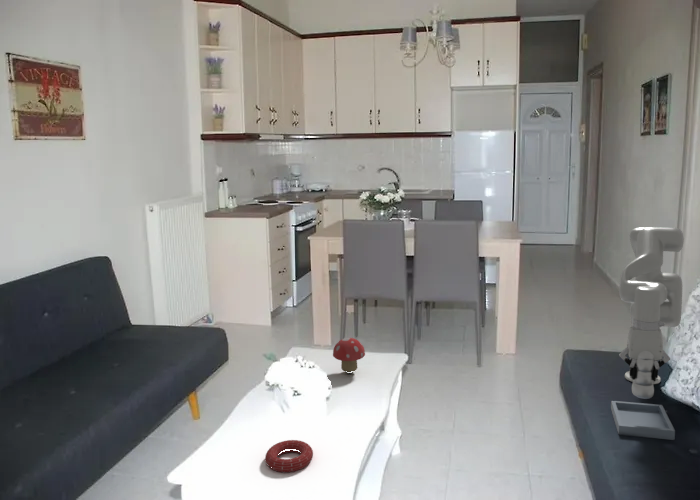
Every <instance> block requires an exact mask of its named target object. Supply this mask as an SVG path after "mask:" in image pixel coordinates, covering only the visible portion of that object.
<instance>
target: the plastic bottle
mask: <svg viewBox="0 0 700 500" xmlns="http://www.w3.org/2000/svg"><path fill="white" fill-rule="evenodd" d="M653 359H654V356H653V354H652V353H651V352H649V351H643V352H641V353H640V354H639V355H638V359H636V363H635V368H636V371H635V379H634V380H633V382H632V384H631V393H632V394H633V396H635V397H636V398H639V399H645V400H647V399H652V397H654V394H655V387H654V384H653V367H654V360H653Z"/></svg>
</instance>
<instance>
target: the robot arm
mask: <svg viewBox="0 0 700 500" xmlns="http://www.w3.org/2000/svg"><path fill="white" fill-rule="evenodd" d="M684 239H685V238H684V234H683V231H682V230H681V228H679V227H678V228H677V227H660V226H647V227H646V226H645V227H643V226H642V227H636V228H635V227H634V228H633V229H631V230H630V232H629V242H630V246H631V248H632V250H633V253H634V256H635V258H634V259H633V260H632V261H630V262H629V263H627V265H626V266H625V267H624V268H623V270H622V271H621V274H620V279H619V286H618V287H619V288H618V295H619V298H620V300H621V301H622V302H624V303H628V304H630V307H629V314H630V315H629V316H630V327H629V331H628V336H627V344H626V347H625V348H624V349H623V350H622V351H621V352H620V353H619V354H618V355H619V358H621V360H623V361H624V362H625V363H626V364H627V365H628V366H629V369H628V370H629V371H626V372H625V374H624V378H625V379H626V380H627V381H630V382H632V383H633V380H634V379H635V371H636V368H635V363H636V359H638V355H639V354H640V353H641V352H643V351H649V352H651V353H652V354H653V356H654V359H653V360H654V367H653V385H658V384H659V383H660V382H661V381H662V380H661V379H662V378H661V376H659V370H660V368H661V367H663V366H664V365H665V364H666V363H669V361H671V357H670V356H669V355H668V354H667V352H665V350H664V349H663V348H664V345H663V333H662V329H661V327H666V328H674V327H678V326H680V323H681V320H682V309H683V308H682V307H683V306H682V305H683V280H682V277H681V276H680V275H679V274H677V273H674V272H662V270H661V269H662V266H663V264H664V252H670V253H672V252H673V253H676V252H681V250H683V247H684ZM634 278H635V280H632V279H634ZM666 300H668V301H666ZM627 354H628V355H627ZM627 356H628V357H627Z"/></svg>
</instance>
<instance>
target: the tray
mask: <svg viewBox="0 0 700 500" xmlns="http://www.w3.org/2000/svg"><path fill="white" fill-rule="evenodd" d="M610 411H611V413H612V417H613V420H614V424H615V427H616V431H617V434H618V435H620V436H630V437H640V438H648V439H649V438H650V439H659V440H671V441H675V438H676V437H675V436H676V430H675V428H674V426H673V424H672V422H671V420H670V418H669V416H668V413H667V412H666V410H665V408H664V406H663V404H653V403H642V402H632V401H631V402H629V401H621V400H620V401H619V400H611V402H610Z"/></svg>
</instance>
